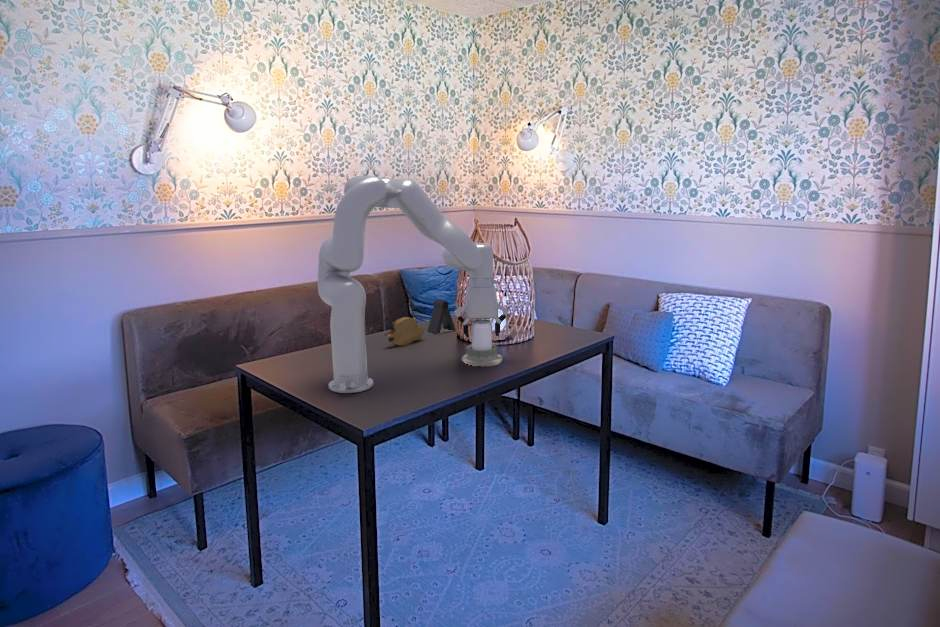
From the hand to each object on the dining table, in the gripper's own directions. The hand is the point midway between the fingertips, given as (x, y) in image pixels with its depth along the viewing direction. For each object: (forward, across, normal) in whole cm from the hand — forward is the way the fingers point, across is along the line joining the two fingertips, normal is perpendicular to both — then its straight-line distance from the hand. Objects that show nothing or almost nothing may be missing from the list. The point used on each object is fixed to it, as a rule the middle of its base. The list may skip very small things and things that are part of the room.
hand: (481, 335), depth 204 cm
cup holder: (+8, 0, 0) cm, 8 cm away
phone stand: (+9, +11, -41) cm, 43 cm away
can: (+7, 0, 0) cm, 8 cm away
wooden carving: (+9, +25, -24) cm, 36 cm away
